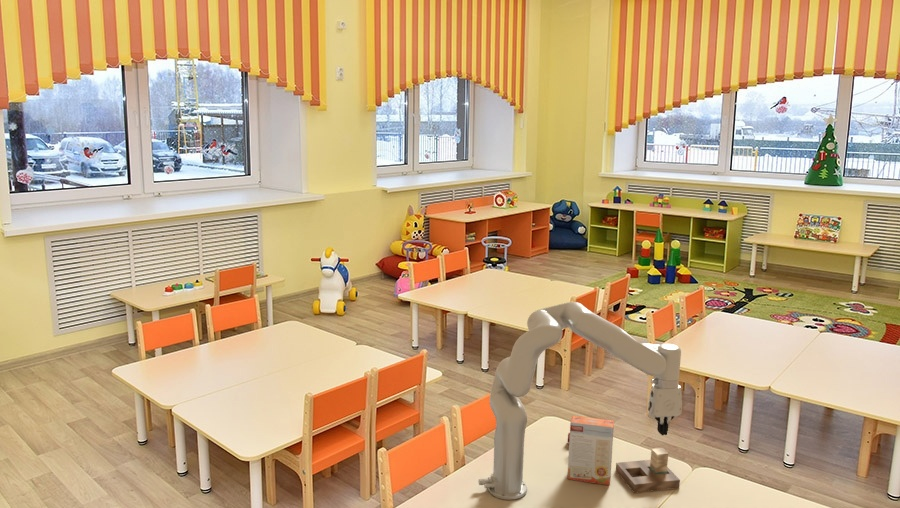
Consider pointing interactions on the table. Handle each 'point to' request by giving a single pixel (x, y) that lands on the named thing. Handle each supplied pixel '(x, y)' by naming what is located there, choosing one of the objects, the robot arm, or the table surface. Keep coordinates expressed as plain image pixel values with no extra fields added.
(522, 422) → the robot arm
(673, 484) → the peg board
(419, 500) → the table surface
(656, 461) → the peg
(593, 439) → the cracker box
